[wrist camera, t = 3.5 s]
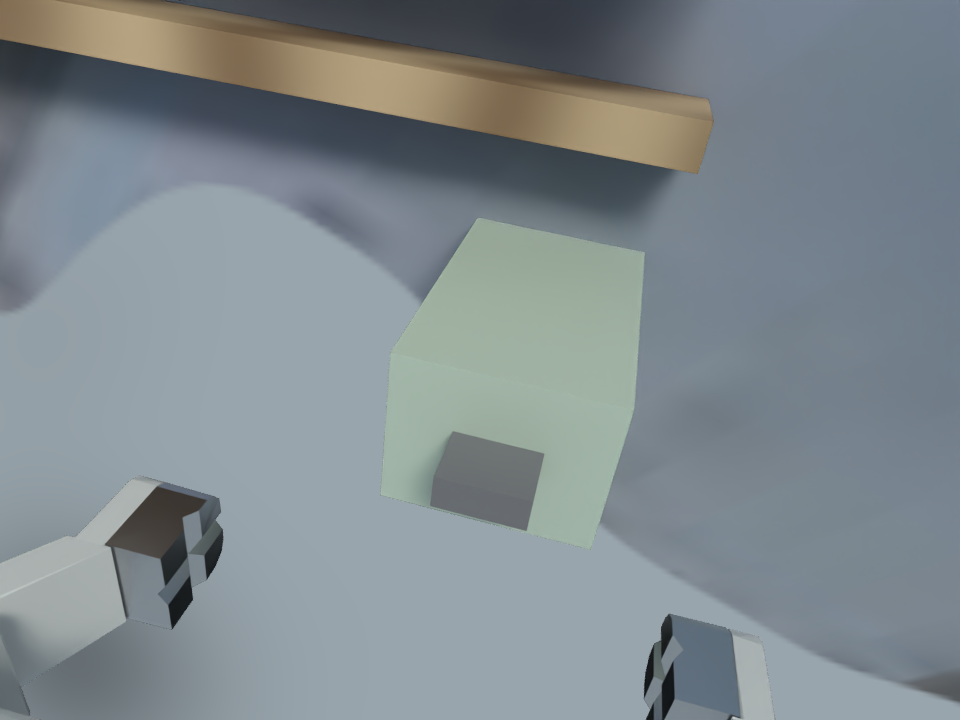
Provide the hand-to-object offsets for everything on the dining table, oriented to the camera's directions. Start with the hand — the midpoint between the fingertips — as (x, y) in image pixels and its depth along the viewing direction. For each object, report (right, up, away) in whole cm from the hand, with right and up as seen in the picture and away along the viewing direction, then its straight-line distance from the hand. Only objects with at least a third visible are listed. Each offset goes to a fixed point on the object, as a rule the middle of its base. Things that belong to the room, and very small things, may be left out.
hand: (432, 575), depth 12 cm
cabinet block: (+3, +6, +9) cm, 11 cm away
